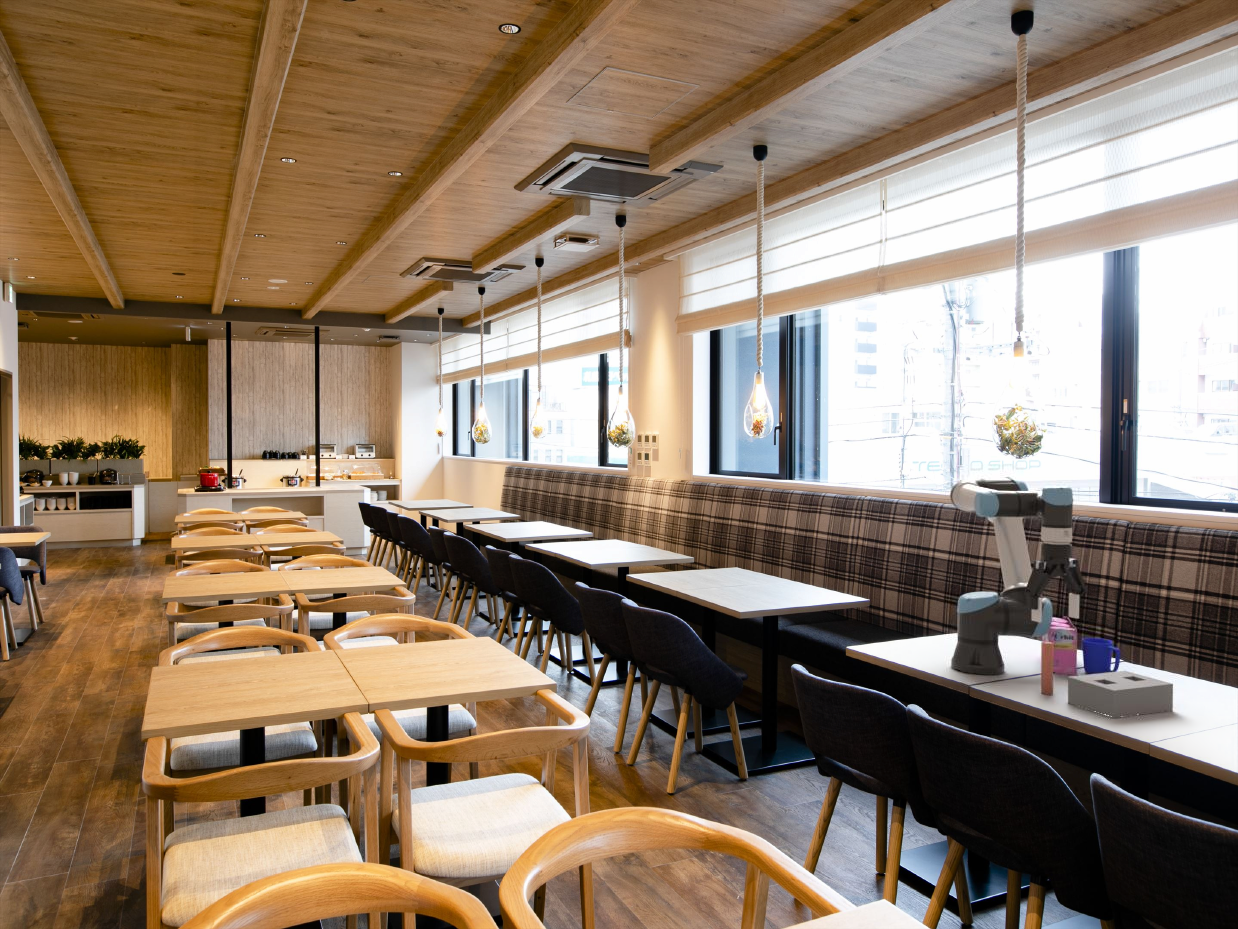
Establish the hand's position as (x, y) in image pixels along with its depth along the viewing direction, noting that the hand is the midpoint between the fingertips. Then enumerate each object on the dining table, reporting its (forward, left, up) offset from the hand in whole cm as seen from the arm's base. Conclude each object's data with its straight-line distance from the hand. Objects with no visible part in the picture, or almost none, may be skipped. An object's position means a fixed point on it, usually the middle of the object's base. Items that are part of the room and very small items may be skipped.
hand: (1055, 619), depth 236 cm
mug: (-11, +29, -21) cm, 38 cm away
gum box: (-25, +27, -21) cm, 43 cm away
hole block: (+15, +6, -21) cm, 26 cm away
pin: (-1, -2, -21) cm, 21 cm away
